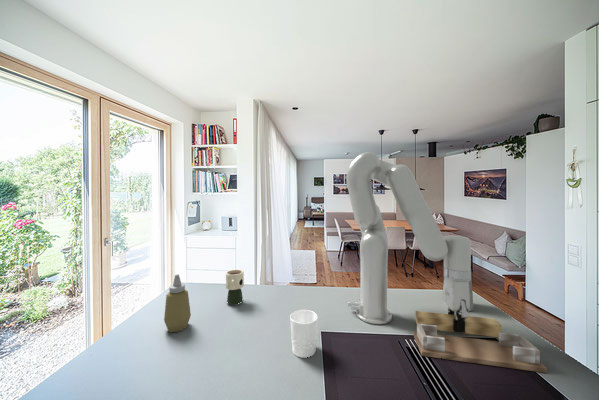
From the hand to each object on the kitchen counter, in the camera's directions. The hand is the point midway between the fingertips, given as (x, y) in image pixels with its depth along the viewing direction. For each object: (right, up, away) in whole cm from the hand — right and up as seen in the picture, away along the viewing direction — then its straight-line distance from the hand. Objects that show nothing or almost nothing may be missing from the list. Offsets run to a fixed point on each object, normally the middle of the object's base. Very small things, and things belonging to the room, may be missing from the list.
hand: (456, 327), depth 81 cm
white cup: (-51, -1, -11) cm, 52 cm away
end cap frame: (-3, -1, -12) cm, 12 cm away
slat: (0, -1, 0) cm, 1 cm away
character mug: (-79, 0, +19) cm, 81 cm away
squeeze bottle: (-93, -1, +1) cm, 93 cm away
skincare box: (+12, 0, +17) cm, 21 cm away
